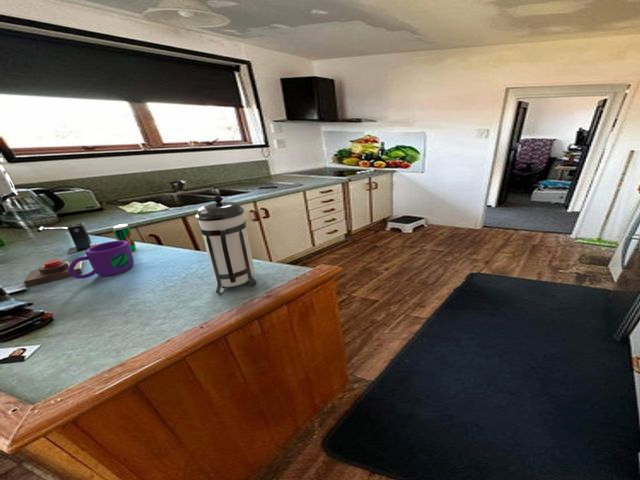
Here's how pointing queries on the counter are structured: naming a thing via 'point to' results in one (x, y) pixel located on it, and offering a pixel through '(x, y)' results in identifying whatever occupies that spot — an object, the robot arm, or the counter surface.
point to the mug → (105, 259)
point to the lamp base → (52, 273)
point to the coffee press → (226, 243)
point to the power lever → (50, 229)
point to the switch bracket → (80, 238)
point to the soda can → (124, 235)
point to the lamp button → (52, 263)
